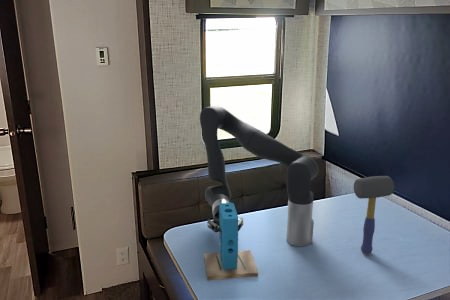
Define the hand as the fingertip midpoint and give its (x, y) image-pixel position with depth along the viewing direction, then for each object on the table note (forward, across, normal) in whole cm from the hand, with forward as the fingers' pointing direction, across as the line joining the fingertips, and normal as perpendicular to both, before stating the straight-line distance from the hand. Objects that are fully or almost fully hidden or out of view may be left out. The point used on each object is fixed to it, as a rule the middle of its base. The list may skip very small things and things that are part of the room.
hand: (228, 235), depth 147 cm
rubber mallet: (-2, +51, +13) cm, 53 cm away
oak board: (0, 0, +13) cm, 13 cm away
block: (-1, 0, +11) cm, 11 cm away
